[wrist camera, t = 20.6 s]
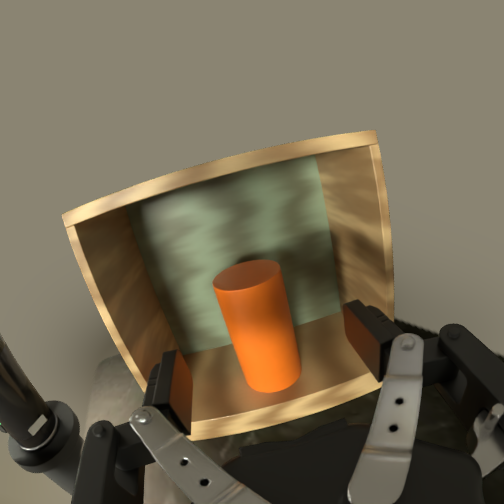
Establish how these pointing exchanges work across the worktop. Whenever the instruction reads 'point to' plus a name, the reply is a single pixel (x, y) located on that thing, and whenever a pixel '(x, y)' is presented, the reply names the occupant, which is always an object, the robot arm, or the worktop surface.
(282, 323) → the can
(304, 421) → the worktop surface
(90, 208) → the shelf unit
